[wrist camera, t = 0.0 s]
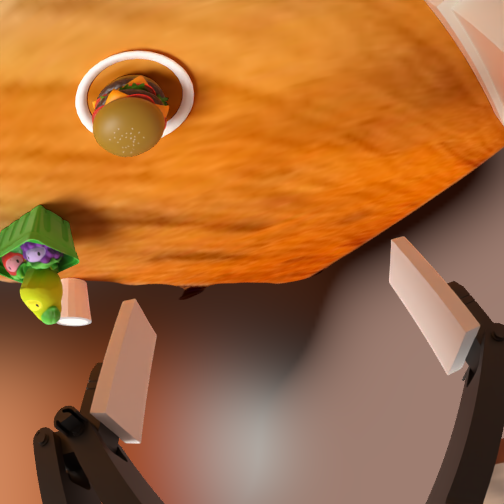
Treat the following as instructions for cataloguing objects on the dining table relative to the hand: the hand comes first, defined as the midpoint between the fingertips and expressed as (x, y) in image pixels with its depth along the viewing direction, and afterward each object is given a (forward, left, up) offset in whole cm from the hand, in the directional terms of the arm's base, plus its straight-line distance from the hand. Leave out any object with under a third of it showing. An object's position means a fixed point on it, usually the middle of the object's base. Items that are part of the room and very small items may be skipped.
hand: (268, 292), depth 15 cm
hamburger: (-2, -6, -16) cm, 17 cm away
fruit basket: (+9, -25, -16) cm, 31 cm away
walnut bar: (-8, +22, +15) cm, 28 cm away
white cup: (+27, -33, -16) cm, 46 cm away
